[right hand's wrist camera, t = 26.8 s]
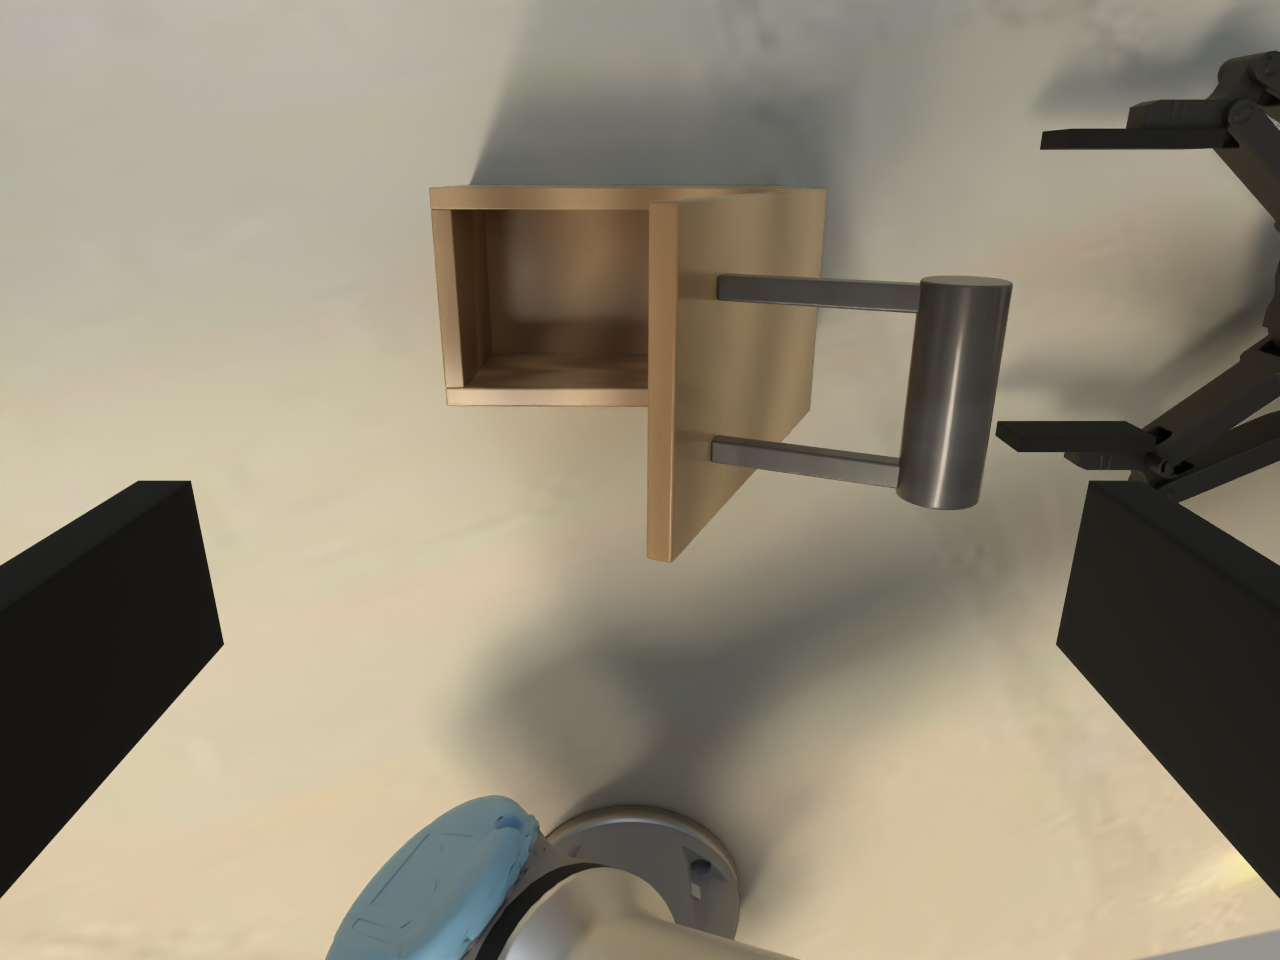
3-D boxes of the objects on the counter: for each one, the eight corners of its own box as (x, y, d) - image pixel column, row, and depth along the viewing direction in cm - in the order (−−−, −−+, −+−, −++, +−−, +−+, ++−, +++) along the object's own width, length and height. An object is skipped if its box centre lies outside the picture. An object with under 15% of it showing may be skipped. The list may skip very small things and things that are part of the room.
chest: (480, 365, 46) (446, 406, 38) (468, 184, 43) (428, 187, 35) (771, 366, 46) (799, 407, 38) (782, 185, 43) (815, 188, 35)
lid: (645, 559, 23) (961, 620, 20) (647, 201, 20) (1026, 207, 17) (792, 409, 38) (988, 430, 35) (808, 188, 35) (1025, 191, 32)
